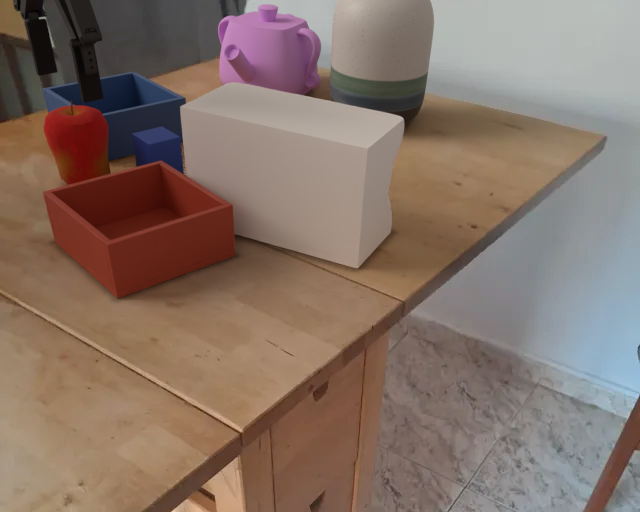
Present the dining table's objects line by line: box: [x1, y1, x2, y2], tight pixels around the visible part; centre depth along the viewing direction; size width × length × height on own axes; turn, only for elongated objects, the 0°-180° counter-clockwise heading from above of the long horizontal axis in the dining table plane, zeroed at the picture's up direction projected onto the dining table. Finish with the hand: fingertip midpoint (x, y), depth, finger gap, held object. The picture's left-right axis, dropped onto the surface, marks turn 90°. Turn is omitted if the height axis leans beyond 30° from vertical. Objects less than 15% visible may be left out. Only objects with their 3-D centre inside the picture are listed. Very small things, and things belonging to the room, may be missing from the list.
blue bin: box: [42, 71, 187, 162], centre depth 113 cm, size 17×17×7 cm
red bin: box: [42, 160, 237, 299], centre depth 85 cm, size 17×17×7 cm
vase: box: [329, 0, 435, 126], centre depth 117 cm, size 17×17×24 cm
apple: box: [42, 100, 112, 185], centre depth 97 cm, size 9×8×12 cm
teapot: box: [217, 3, 322, 96], centre depth 130 cm, size 19×21×14 cm
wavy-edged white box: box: [180, 82, 405, 270], centre depth 91 cm, size 25×18×15 cm
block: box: [132, 127, 185, 175], centre depth 100 cm, size 5×5×7 cm
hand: (69, 86), depth 92 cm, fingers open, 13 cm apart
